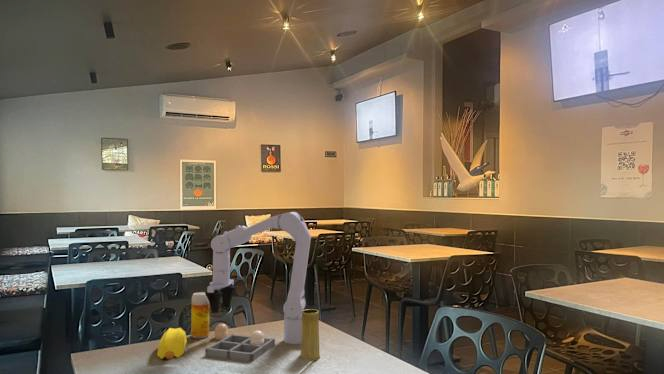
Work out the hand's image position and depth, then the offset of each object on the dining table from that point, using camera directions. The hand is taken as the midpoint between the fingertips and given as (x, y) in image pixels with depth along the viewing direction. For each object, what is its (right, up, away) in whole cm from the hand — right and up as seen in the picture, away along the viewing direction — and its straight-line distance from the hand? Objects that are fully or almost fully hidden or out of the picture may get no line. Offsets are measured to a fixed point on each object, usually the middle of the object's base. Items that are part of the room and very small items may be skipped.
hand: (220, 309), depth 162 cm
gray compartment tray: (+10, -10, -13) cm, 19 cm away
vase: (+31, -11, -17) cm, 37 cm away
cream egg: (+14, -10, -11) cm, 20 cm away
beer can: (-8, -11, +4) cm, 14 cm away
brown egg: (0, -10, 0) cm, 10 cm away
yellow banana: (-12, -11, -13) cm, 20 cm away
